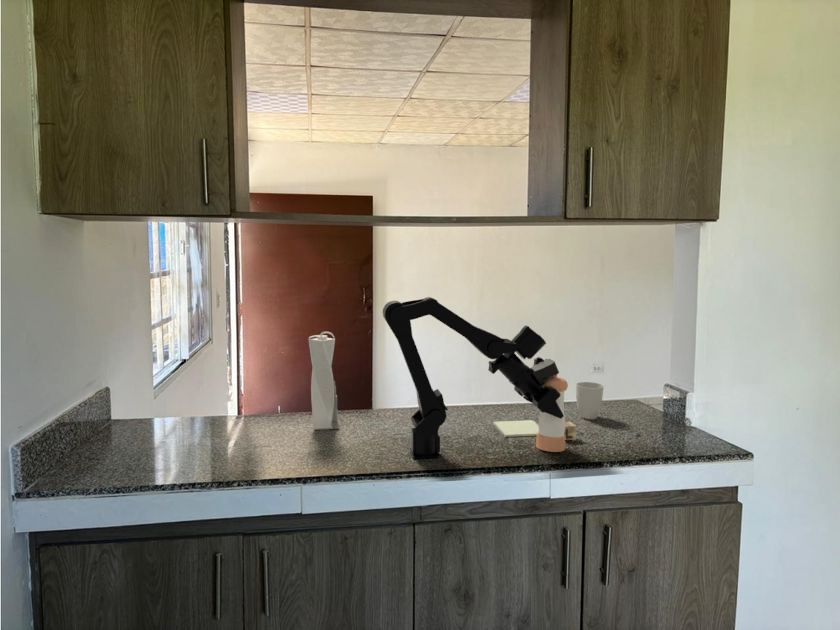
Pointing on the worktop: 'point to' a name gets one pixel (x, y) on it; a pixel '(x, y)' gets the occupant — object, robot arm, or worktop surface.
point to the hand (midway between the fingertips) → (557, 413)
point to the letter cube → (570, 431)
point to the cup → (589, 399)
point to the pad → (517, 428)
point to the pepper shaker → (553, 421)
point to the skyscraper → (323, 383)
